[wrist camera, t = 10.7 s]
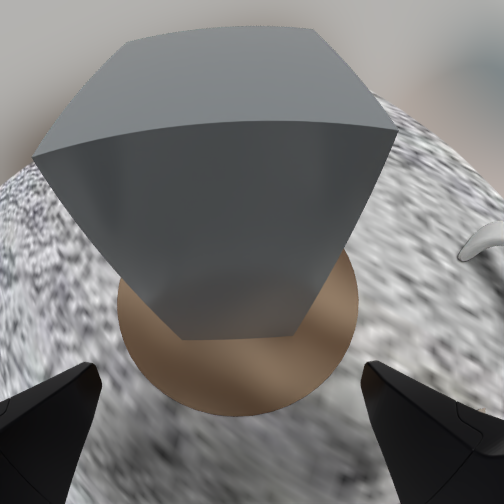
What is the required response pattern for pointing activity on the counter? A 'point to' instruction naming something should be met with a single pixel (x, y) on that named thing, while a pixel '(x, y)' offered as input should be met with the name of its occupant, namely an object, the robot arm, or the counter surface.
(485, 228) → the white curved piece
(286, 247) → the grey tall block
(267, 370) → the plate
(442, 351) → the counter surface
